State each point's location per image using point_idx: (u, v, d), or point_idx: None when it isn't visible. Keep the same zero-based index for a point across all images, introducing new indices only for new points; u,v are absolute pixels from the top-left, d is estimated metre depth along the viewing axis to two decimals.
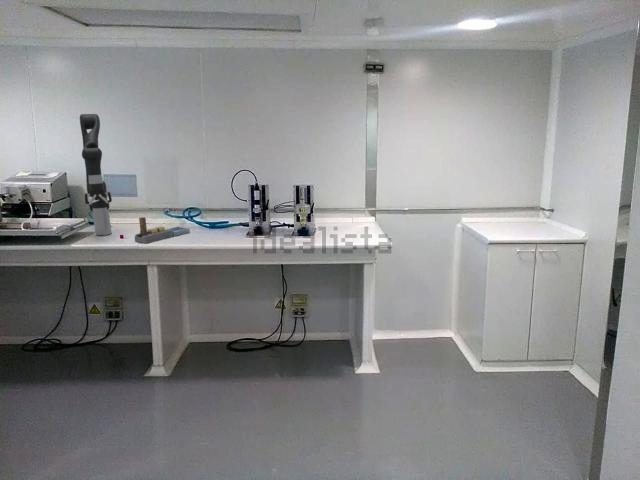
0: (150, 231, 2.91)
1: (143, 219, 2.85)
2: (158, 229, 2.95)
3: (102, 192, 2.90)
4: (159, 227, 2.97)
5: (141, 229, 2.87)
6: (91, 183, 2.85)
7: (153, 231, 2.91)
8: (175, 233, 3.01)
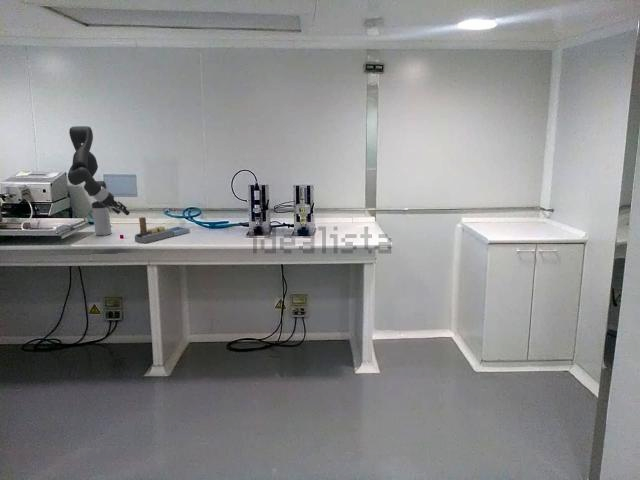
0: (150, 231, 2.91)
1: (143, 219, 2.85)
2: (158, 229, 2.95)
3: (112, 204, 2.66)
4: (159, 227, 2.97)
5: (141, 229, 2.87)
6: None
7: (153, 231, 2.91)
8: (175, 233, 3.01)
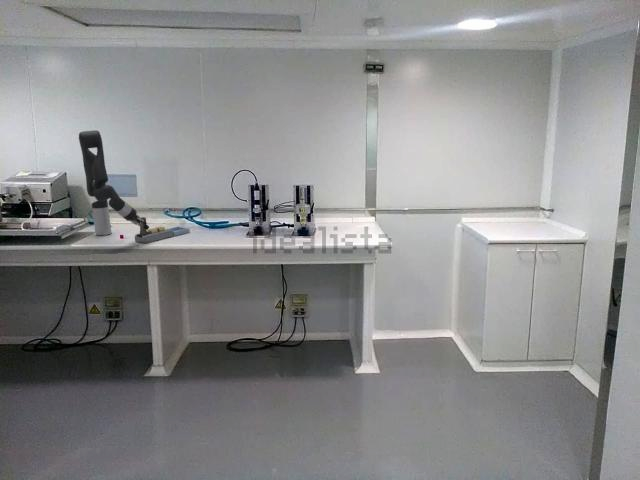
0: (150, 231, 2.91)
1: None
2: (158, 229, 2.95)
3: (135, 218, 2.79)
4: (159, 227, 2.97)
5: (141, 229, 2.87)
6: None
7: (153, 231, 2.91)
8: (175, 233, 3.01)
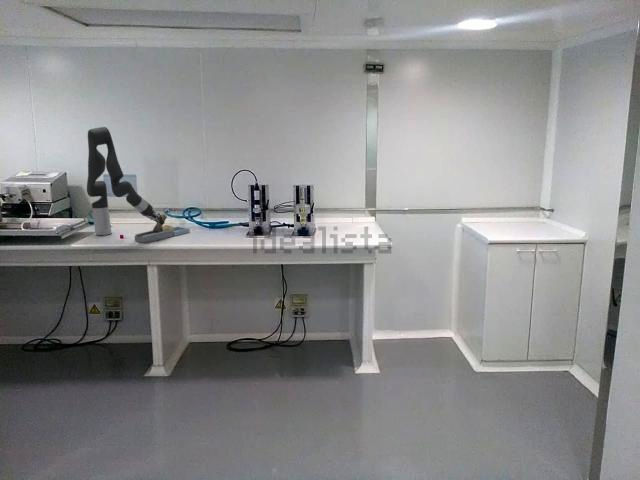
0: (161, 229, 2.97)
1: (164, 216, 2.98)
2: (168, 226, 3.01)
3: (151, 214, 2.88)
4: None
5: (157, 224, 2.96)
6: None
7: (164, 229, 2.97)
8: (175, 233, 3.01)
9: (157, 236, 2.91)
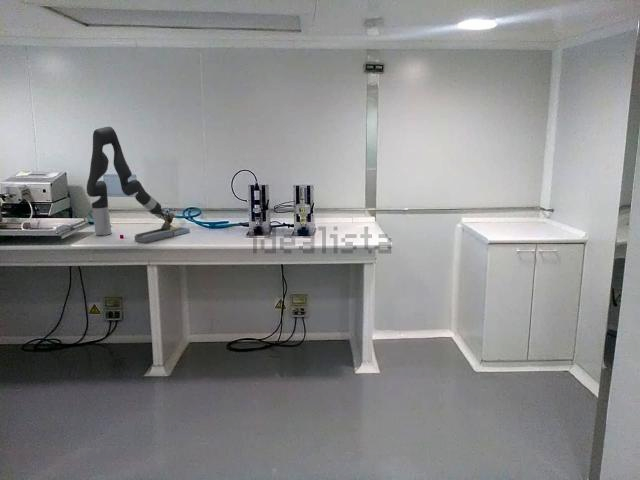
0: None
1: (172, 215, 3.02)
2: None
3: (159, 212, 2.92)
4: None
5: (165, 222, 3.00)
6: None
7: (172, 227, 3.02)
8: (175, 233, 3.01)
9: (157, 236, 2.91)
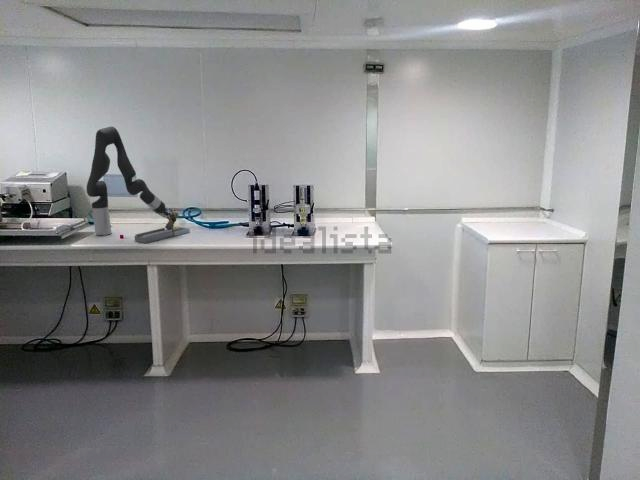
0: (174, 226, 3.05)
1: (176, 214, 3.05)
2: None
3: (163, 211, 2.95)
4: None
5: (169, 221, 3.03)
6: None
7: (175, 229, 3.05)
8: (175, 233, 3.01)
9: (157, 236, 2.91)
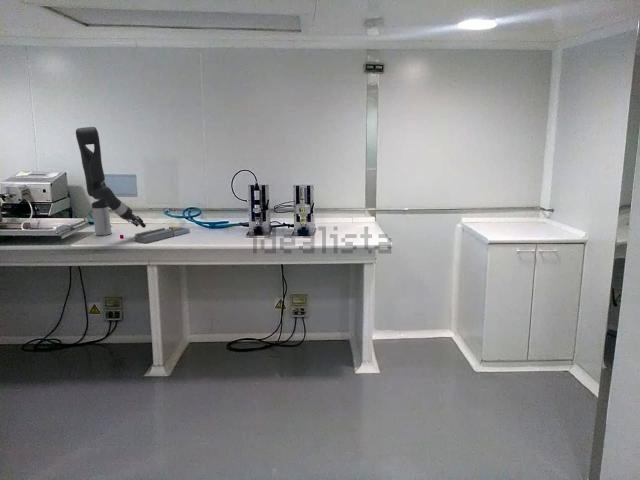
0: (174, 226, 3.05)
1: None
2: None
3: (130, 217, 2.89)
4: None
5: None
6: None
7: (175, 229, 3.05)
8: (175, 233, 3.01)
9: (157, 236, 2.91)
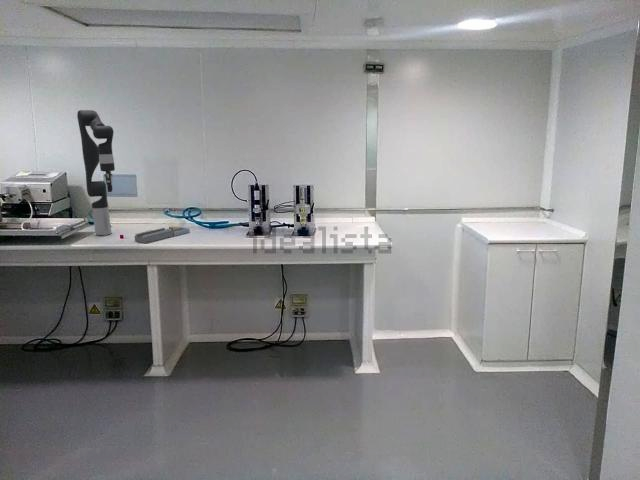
0: (174, 226, 3.05)
1: None
2: None
3: None
4: None
5: None
6: None
7: (175, 229, 3.05)
8: (175, 233, 3.01)
9: (157, 236, 2.91)
